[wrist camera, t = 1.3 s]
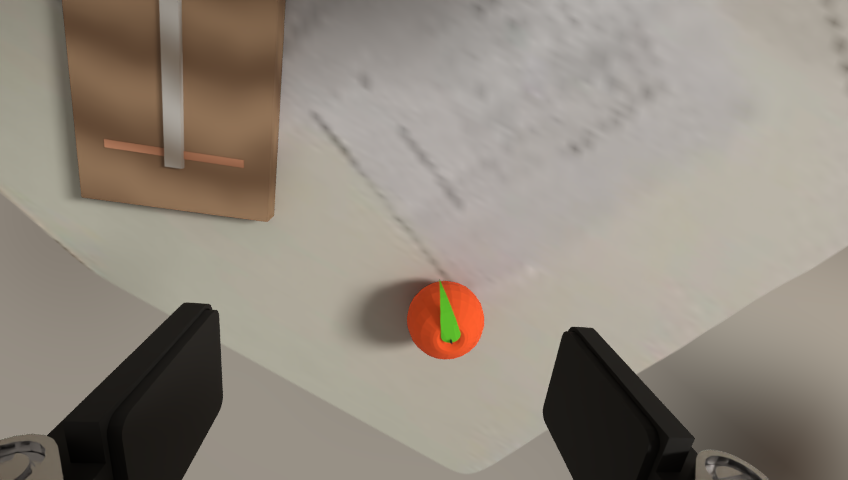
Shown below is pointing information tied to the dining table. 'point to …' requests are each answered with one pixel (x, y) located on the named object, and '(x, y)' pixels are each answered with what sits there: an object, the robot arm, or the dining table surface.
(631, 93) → the dining table surface
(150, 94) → the board
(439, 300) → the clementine
